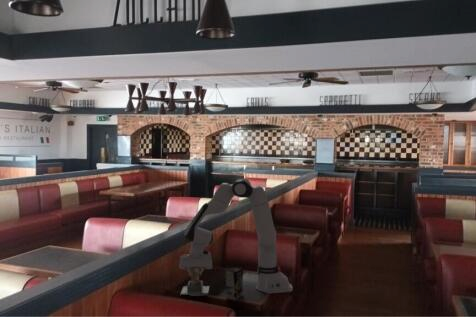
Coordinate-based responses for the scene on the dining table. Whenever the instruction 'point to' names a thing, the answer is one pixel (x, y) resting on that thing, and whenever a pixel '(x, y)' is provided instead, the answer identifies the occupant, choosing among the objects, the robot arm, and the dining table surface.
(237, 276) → the coffee box
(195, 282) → the beech pin
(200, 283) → the socket plate
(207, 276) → the dining table surface
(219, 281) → the dining table surface
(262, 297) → the dining table surface
